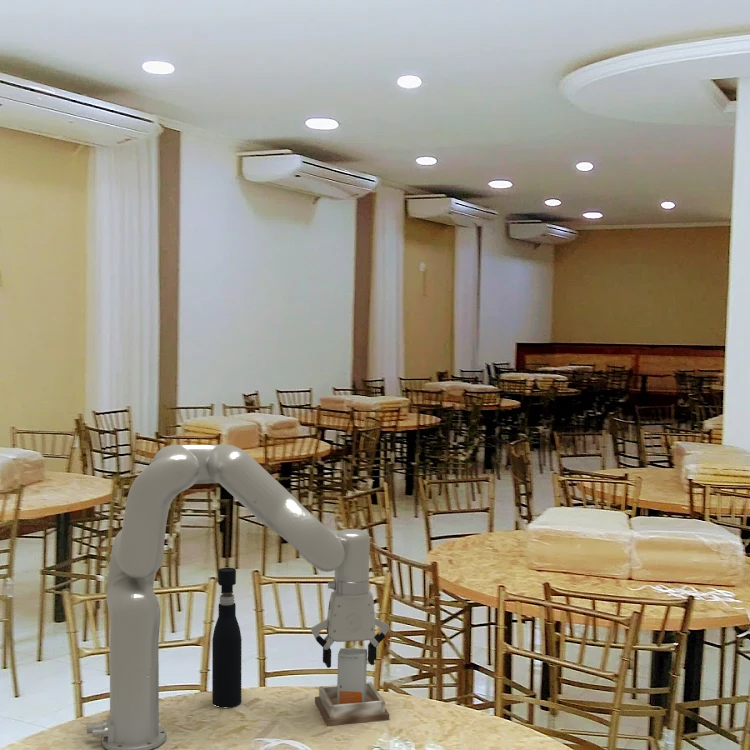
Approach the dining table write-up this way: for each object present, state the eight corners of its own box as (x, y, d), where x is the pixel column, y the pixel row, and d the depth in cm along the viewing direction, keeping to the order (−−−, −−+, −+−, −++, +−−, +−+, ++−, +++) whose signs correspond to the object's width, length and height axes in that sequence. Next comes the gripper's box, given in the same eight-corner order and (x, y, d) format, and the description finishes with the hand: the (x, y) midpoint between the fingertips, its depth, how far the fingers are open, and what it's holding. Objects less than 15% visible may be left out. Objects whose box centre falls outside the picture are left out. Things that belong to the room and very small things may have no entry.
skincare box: (336, 708, 203) (336, 653, 202) (339, 701, 207) (339, 647, 206) (364, 709, 202) (364, 654, 201) (366, 702, 206) (367, 648, 206)
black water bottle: (235, 709, 205) (235, 573, 204) (207, 706, 206) (208, 572, 205) (245, 698, 211) (245, 566, 210) (218, 696, 212) (218, 565, 211)
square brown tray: (327, 725, 196) (327, 708, 196) (314, 702, 209) (314, 685, 209) (389, 719, 199) (389, 702, 199) (373, 696, 213) (373, 680, 212)
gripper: (315, 592, 198) (313, 672, 198) (394, 589, 202) (392, 668, 202) (309, 584, 205) (307, 661, 205) (385, 581, 209) (383, 656, 210)
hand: (349, 664), depth 204 cm, fingers open, 9 cm apart
